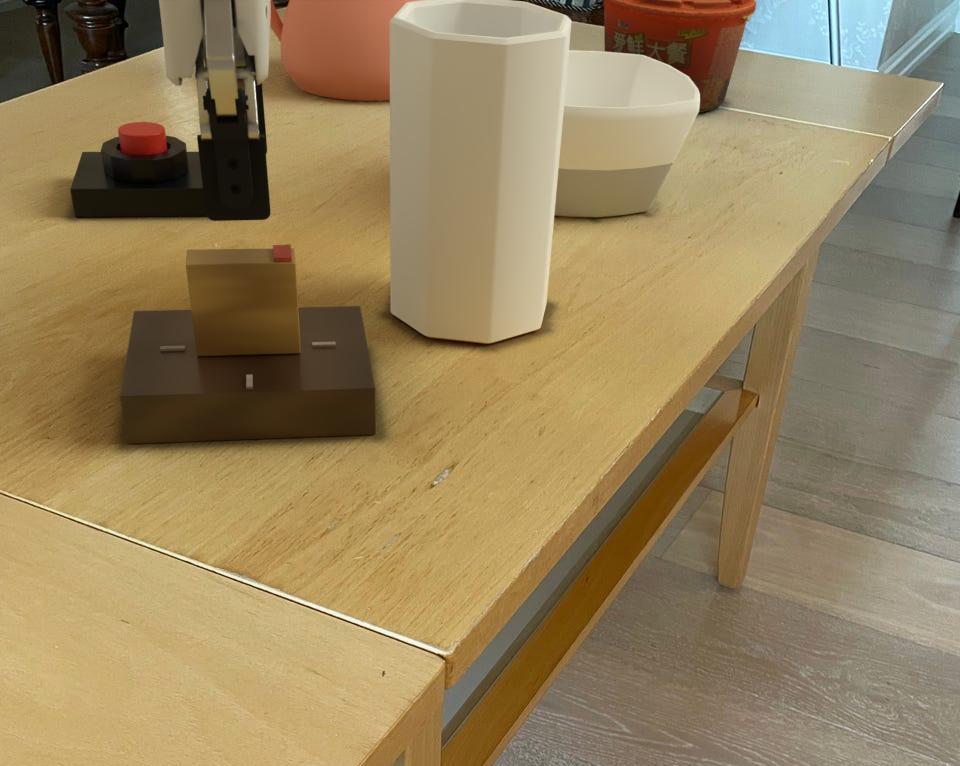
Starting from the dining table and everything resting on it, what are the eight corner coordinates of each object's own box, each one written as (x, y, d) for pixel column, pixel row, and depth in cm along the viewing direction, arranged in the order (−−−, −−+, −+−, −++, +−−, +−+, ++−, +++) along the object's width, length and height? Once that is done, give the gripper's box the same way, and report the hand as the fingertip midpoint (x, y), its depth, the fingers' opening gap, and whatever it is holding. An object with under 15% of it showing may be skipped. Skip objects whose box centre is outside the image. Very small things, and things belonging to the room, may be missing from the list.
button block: (75, 217, 90) (65, 165, 88) (86, 178, 97) (78, 128, 94) (218, 216, 92) (213, 164, 89) (219, 177, 99) (215, 128, 96)
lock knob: (196, 356, 67) (185, 260, 63) (197, 339, 69) (186, 244, 65) (301, 353, 68) (295, 258, 64) (299, 337, 69) (294, 243, 66)
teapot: (486, 67, 130) (492, -71, 121) (490, 111, 117) (498, -40, 109) (263, 57, 129) (253, -83, 120) (242, 99, 116) (230, -54, 107)
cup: (444, 265, 86) (452, -13, 74) (576, 303, 82) (607, 15, 70) (357, 317, 79) (351, 17, 67) (498, 361, 75) (517, 50, 63)
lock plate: (127, 444, 65) (119, 393, 63) (140, 355, 73) (133, 308, 71) (376, 434, 67) (375, 385, 65) (361, 349, 75) (360, 303, 73)
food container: (604, 70, 131) (616, -37, 124) (745, 88, 128) (764, -21, 122) (575, 108, 119) (586, -9, 113) (729, 128, 117) (750, 9, 110)
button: (119, 159, 90) (115, 135, 89) (122, 144, 93) (119, 121, 92) (166, 158, 91) (163, 135, 90) (168, 144, 94) (165, 121, 93)
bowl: (457, 161, 105) (461, 48, 99) (643, 158, 108) (658, 48, 102) (500, 235, 92) (508, 110, 86) (710, 228, 95) (732, 107, 89)
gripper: (128, -225, 57) (174, 136, 68) (95, -192, 44) (159, 248, 55) (281, -220, 58) (302, 135, 69) (293, -186, 45) (317, 245, 56)
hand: (239, 185), depth 62 cm, fingers open, 9 cm apart
